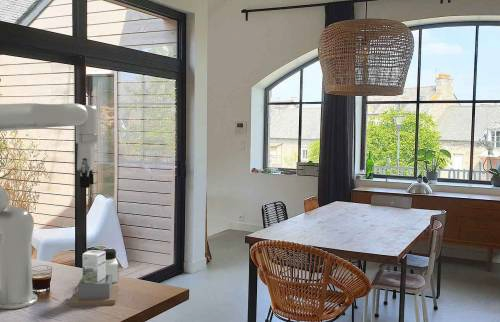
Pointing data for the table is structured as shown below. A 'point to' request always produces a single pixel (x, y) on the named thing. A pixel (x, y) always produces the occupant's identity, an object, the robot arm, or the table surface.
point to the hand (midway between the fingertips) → (87, 185)
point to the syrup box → (94, 266)
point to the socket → (95, 293)
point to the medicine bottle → (111, 263)
